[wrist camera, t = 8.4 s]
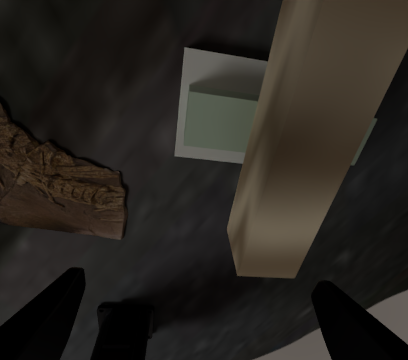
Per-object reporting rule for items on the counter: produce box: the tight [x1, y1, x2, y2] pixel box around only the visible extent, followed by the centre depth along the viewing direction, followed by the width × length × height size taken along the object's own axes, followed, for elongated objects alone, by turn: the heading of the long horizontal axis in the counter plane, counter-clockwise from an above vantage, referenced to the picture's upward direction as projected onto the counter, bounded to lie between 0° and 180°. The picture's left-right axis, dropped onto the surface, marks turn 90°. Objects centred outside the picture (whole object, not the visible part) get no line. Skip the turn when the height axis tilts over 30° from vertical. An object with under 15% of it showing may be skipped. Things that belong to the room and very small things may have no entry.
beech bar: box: [227, 0, 408, 278], centre depth 12 cm, size 15×4×4 cm, turn 172°
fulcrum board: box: [175, 47, 377, 165], centre depth 15 cm, size 7×12×4 cm, turn 82°
